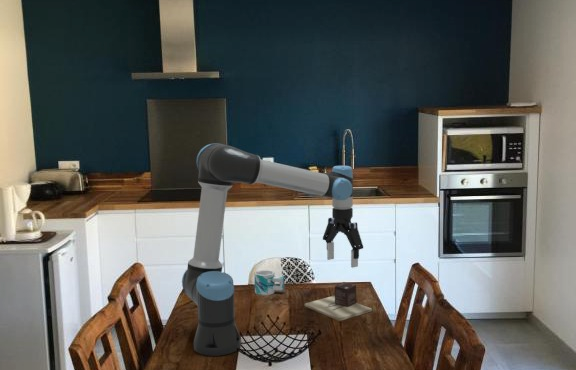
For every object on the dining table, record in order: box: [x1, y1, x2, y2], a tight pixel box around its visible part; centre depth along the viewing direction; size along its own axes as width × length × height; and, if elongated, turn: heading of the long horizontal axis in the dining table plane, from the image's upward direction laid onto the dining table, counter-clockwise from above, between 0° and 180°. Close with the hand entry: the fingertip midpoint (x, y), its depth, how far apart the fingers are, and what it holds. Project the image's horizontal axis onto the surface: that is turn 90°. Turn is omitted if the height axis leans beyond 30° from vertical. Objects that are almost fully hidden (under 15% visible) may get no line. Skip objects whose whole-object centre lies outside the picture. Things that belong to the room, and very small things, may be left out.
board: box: [304, 294, 373, 322], centre depth 226 cm, size 16×20×1 cm
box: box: [334, 281, 357, 307], centre depth 228 cm, size 6×6×7 cm
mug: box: [254, 269, 285, 296], centre depth 246 cm, size 8×12×8 cm
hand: (342, 263), depth 226 cm, fingers open, 13 cm apart
